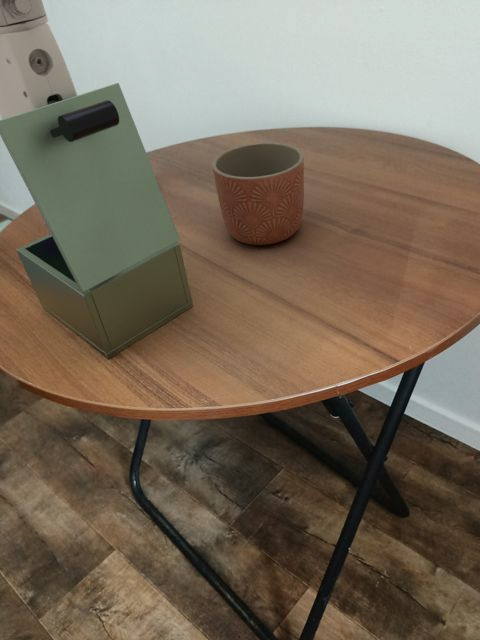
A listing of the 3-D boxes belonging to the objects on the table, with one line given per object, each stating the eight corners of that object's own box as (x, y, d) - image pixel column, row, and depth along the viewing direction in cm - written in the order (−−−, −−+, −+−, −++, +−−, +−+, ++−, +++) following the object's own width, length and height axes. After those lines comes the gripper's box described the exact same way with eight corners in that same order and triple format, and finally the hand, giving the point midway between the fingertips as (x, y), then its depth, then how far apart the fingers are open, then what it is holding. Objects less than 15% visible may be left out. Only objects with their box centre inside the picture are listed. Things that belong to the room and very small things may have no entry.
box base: (43, 308, 67) (15, 249, 62) (123, 265, 74) (105, 208, 68) (108, 359, 58) (83, 295, 53) (193, 306, 65) (179, 243, 59)
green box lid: (-7, 122, 45) (12, 112, 41) (115, 84, 51) (142, 71, 47) (80, 291, 53) (104, 297, 49) (177, 240, 59) (205, 241, 55)
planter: (293, 257, 71) (288, 180, 64) (210, 249, 75) (197, 175, 68) (315, 214, 80) (313, 143, 73) (240, 209, 83) (231, 140, 76)
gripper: (85, 4, 44) (138, 206, 56) (-1, -2, 53) (61, 171, 65) (0, 23, 40) (77, 234, 52) (-75, 13, 50) (4, 193, 62)
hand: (67, 197), depth 59 cm, fingers closed on container, 4 cm apart
